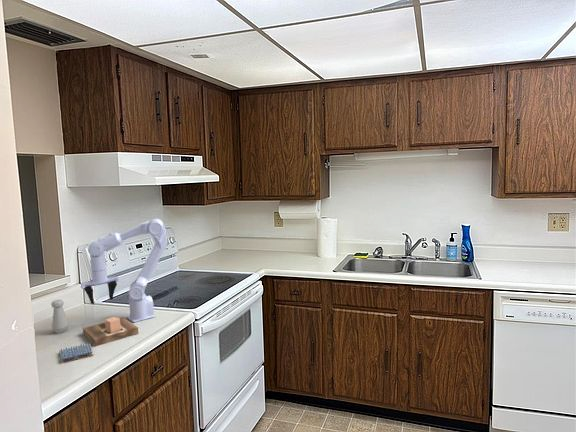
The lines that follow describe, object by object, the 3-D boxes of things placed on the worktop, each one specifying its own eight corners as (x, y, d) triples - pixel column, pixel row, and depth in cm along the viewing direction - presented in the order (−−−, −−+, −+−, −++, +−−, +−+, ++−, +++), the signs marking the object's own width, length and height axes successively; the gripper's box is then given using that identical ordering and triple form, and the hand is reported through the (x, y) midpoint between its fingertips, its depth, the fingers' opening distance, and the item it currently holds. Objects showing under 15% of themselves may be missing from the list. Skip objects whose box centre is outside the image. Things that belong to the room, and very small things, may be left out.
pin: (116, 333, 167) (114, 316, 166) (121, 336, 165) (119, 318, 164) (106, 337, 164) (104, 319, 163) (111, 339, 162) (110, 322, 161)
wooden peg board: (124, 323, 178) (123, 317, 178) (138, 333, 166) (138, 327, 166) (83, 334, 168) (82, 327, 168) (95, 346, 156) (95, 339, 156)
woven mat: (90, 346, 157) (90, 341, 157) (94, 357, 148) (94, 351, 148) (59, 354, 152) (58, 348, 151) (60, 365, 143) (60, 359, 142)
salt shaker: (71, 328, 175) (68, 297, 173) (64, 333, 169) (61, 302, 167) (56, 329, 175) (53, 298, 173) (49, 334, 169) (46, 303, 167)
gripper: (113, 265, 185) (116, 295, 186) (77, 271, 175) (80, 303, 177) (118, 267, 179) (121, 298, 181) (82, 274, 170) (85, 307, 172)
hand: (101, 301), depth 179 cm, fingers open, 7 cm apart
